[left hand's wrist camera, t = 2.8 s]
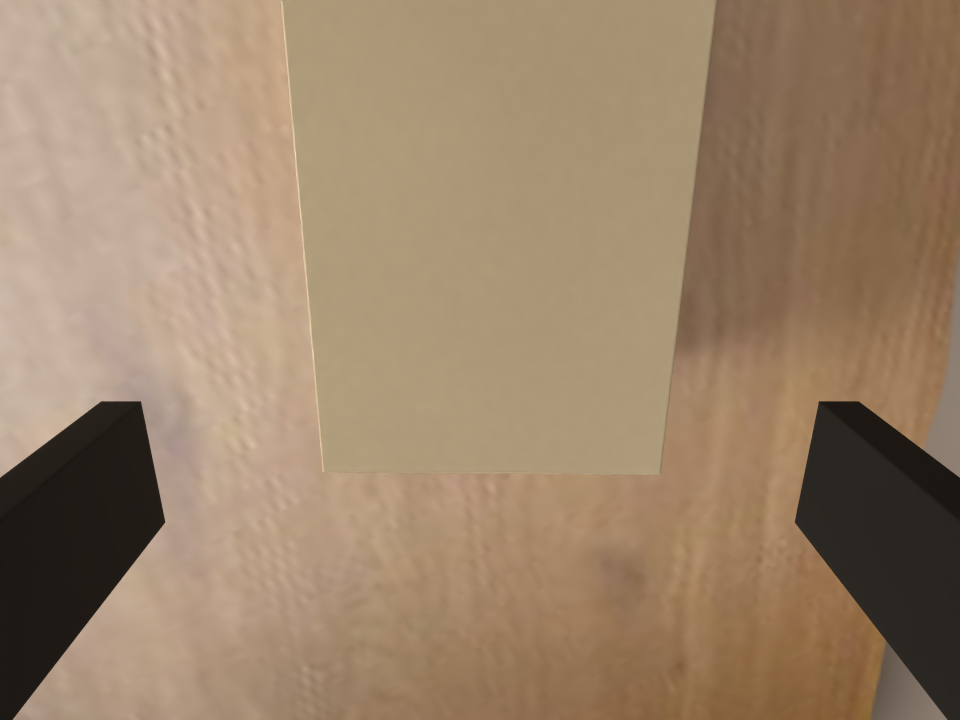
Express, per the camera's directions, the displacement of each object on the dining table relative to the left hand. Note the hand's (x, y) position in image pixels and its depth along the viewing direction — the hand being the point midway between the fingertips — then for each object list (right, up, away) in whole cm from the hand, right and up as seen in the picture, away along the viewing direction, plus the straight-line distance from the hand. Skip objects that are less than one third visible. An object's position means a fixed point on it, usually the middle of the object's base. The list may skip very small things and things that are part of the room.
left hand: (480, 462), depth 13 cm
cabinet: (0, +11, +13) cm, 17 cm away
